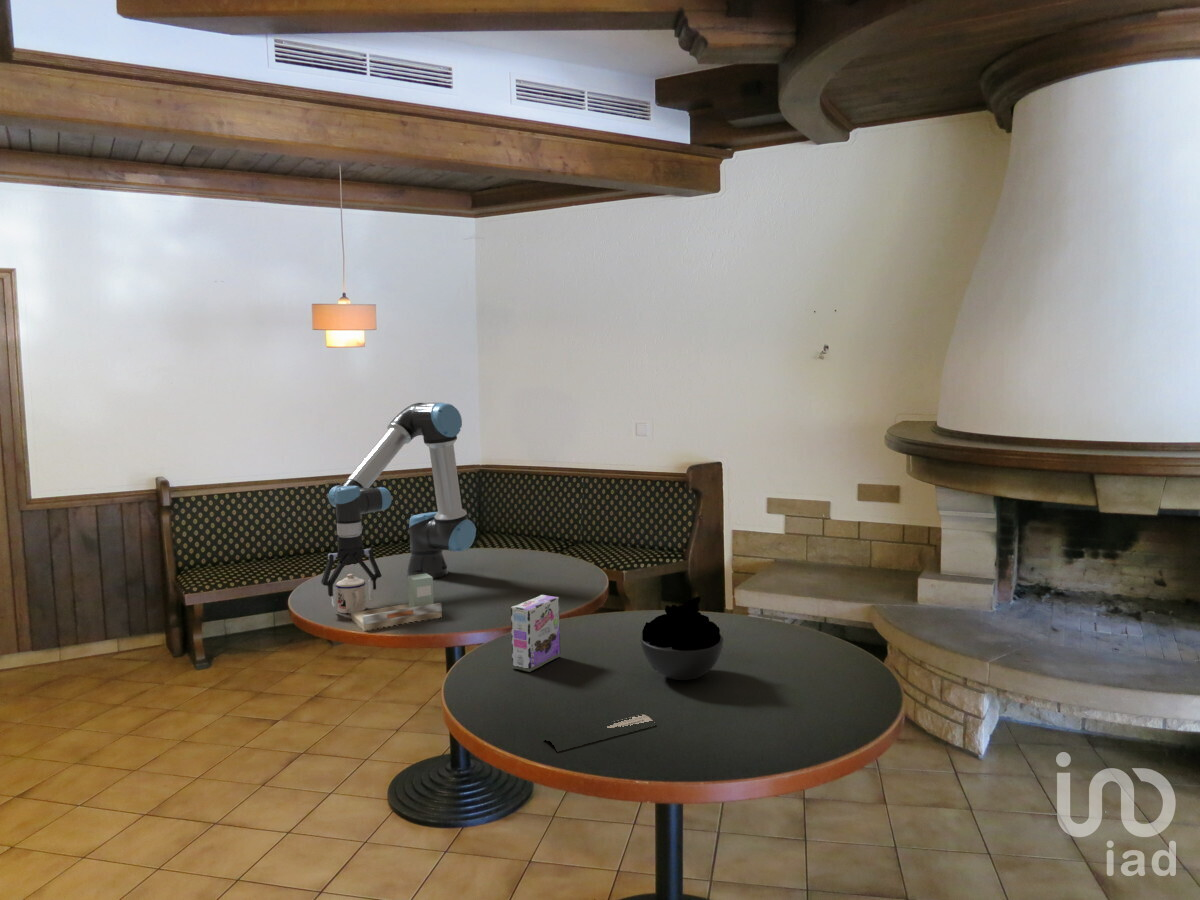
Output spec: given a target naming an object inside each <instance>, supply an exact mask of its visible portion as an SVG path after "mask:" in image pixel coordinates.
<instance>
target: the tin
mask: <svg viewBox="0 0 1200 900" xmlns="http://www.w3.org/2000/svg"><path fill="white" fill-rule="evenodd" d="M407 591H408V593H407V594H408V595H407V596H408V604H409V608H411V607H417V606H423V605H429V604H435V601H434V578H433V577H432V576H430V575H428V574H427V573H424V574H417V575H411V576H408V577H407Z"/></svg>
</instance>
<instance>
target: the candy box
mask: <svg viewBox="0 0 1200 900" xmlns="http://www.w3.org/2000/svg"><path fill="white" fill-rule="evenodd" d="M510 616H511V617H510V621H511V622H510V624H511V625H510V626H511V628H510V630H511V666H512V665H514V666H519V667H523V668H529V669H530V668H532V667H534V666H536V665H538V664H539V663H541V662H544V661H546V660H547V659H549V658H551V657H553V656H555V655H557V654H559V653H560V654H561V629H560V623H561V622H560V597H559V596H552V595H546V594H540V595H538V596H537V597H534V598H531V599H528V600H526V601H523V602H520V603H519V604H516V605H513V606H511V607H510Z"/></svg>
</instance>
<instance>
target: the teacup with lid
mask: <svg viewBox="0 0 1200 900" xmlns="http://www.w3.org/2000/svg"><path fill="white" fill-rule="evenodd" d="M335 588H336V603H337V612H338V613H341V614H346V613H349V614H351V613H355V612H360V611H366V608H367V603H366V601H367V600H366V581H365V580H364V579H363V578H359V577H357V576H355V575H354V574H353V573H349V574H347V575H346V577H344V578H343V579H340V580H338V581H337V582H336V584H335Z"/></svg>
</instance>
